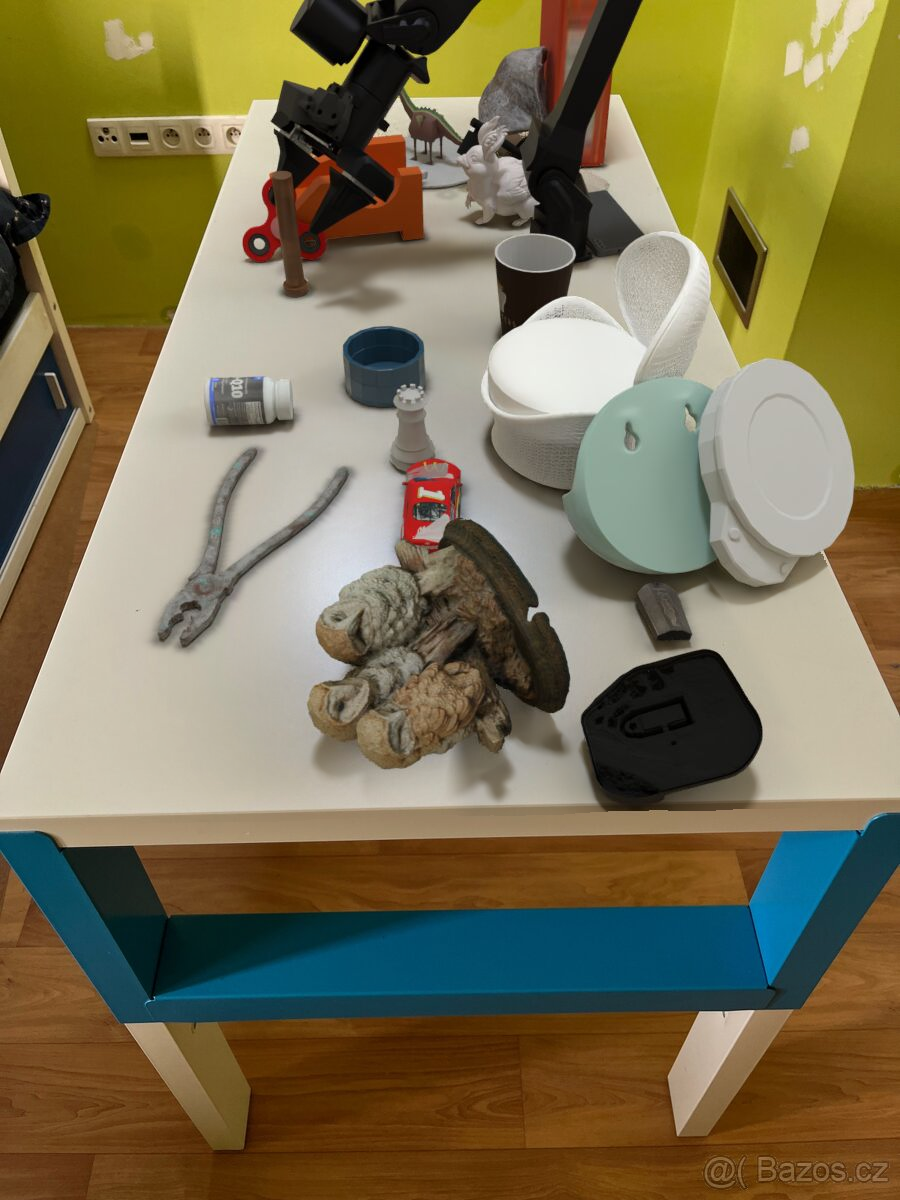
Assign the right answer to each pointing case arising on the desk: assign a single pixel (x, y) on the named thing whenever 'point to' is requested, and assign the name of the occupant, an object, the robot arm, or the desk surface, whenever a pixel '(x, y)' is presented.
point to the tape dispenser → (382, 217)
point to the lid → (773, 470)
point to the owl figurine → (436, 651)
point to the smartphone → (609, 226)
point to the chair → (593, 356)
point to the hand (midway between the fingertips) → (292, 218)
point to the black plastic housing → (670, 728)
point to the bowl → (382, 364)
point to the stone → (594, 181)
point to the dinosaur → (432, 146)
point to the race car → (430, 502)
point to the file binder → (562, 34)
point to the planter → (644, 481)
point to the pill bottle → (247, 400)
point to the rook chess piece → (411, 429)
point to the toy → (278, 234)
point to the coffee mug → (531, 275)
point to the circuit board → (511, 138)
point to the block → (663, 612)
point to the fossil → (516, 91)
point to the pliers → (213, 588)
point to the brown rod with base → (289, 234)
